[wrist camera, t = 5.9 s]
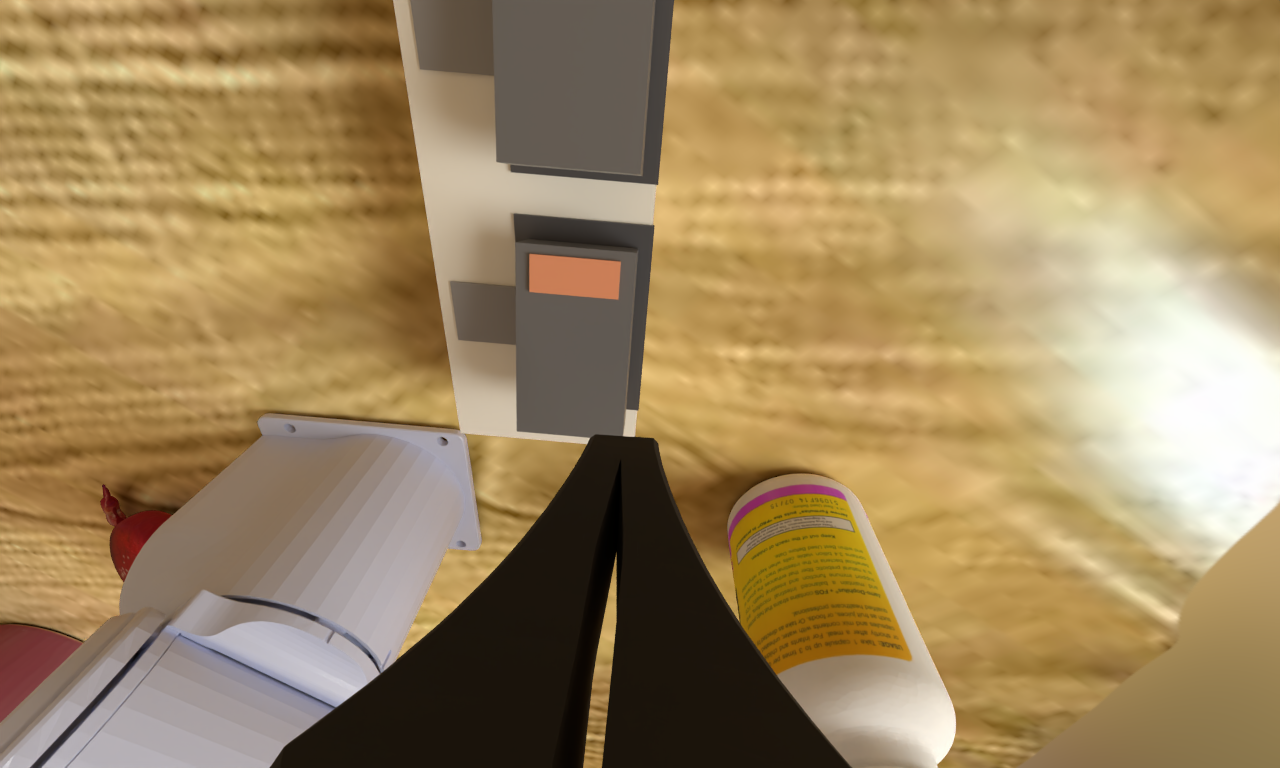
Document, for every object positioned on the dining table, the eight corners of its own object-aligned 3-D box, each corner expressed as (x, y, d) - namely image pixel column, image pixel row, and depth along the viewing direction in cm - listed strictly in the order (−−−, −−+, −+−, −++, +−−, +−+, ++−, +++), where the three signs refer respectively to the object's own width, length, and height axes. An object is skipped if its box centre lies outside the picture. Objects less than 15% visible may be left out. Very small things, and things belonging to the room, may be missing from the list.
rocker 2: (528, 412, 16) (515, 432, 15) (528, 239, 14) (514, 242, 13) (625, 421, 16) (622, 441, 15) (638, 248, 14) (636, 252, 13)
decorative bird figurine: (123, 418, 23) (269, 565, 22) (160, 567, 34) (260, 670, 33) (35, 450, 21) (195, 616, 20) (105, 599, 31) (210, 710, 31)
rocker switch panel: (489, 383, 21) (455, 441, 18) (348, -918, 8) (108, -1662, 5) (639, 396, 21) (634, 457, 18) (750, -885, 8) (812, -1600, 5)
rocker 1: (513, 164, 12) (494, 162, 11) (509, -127, 10) (485, -178, 9) (642, 175, 12) (640, 174, 11) (664, -114, 10) (665, -163, 9)
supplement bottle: (698, 511, 25) (723, 849, 14) (811, 443, 22) (949, 795, 11) (776, 575, 27) (849, 907, 16) (886, 521, 25) (1059, 873, 14)
